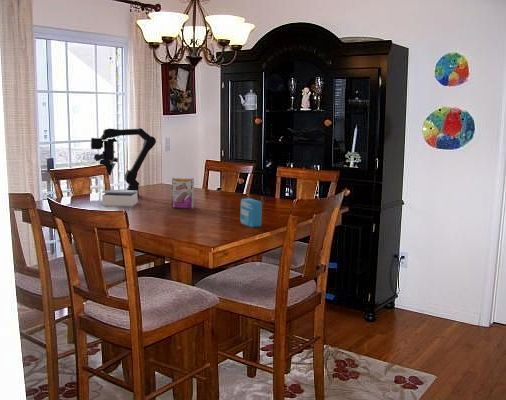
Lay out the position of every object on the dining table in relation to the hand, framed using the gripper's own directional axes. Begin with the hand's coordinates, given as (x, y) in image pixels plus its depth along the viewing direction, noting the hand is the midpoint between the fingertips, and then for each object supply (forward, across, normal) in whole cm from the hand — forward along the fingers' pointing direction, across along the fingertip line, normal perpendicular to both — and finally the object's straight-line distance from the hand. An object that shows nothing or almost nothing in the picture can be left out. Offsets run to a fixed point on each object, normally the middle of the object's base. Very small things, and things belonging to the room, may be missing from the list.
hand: (109, 175), depth 318 cm
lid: (+6, +25, +13) cm, 29 cm away
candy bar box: (+13, +32, +49) cm, 60 cm away
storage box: (+13, +25, +13) cm, 31 cm away
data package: (+13, +72, +86) cm, 113 cm away
